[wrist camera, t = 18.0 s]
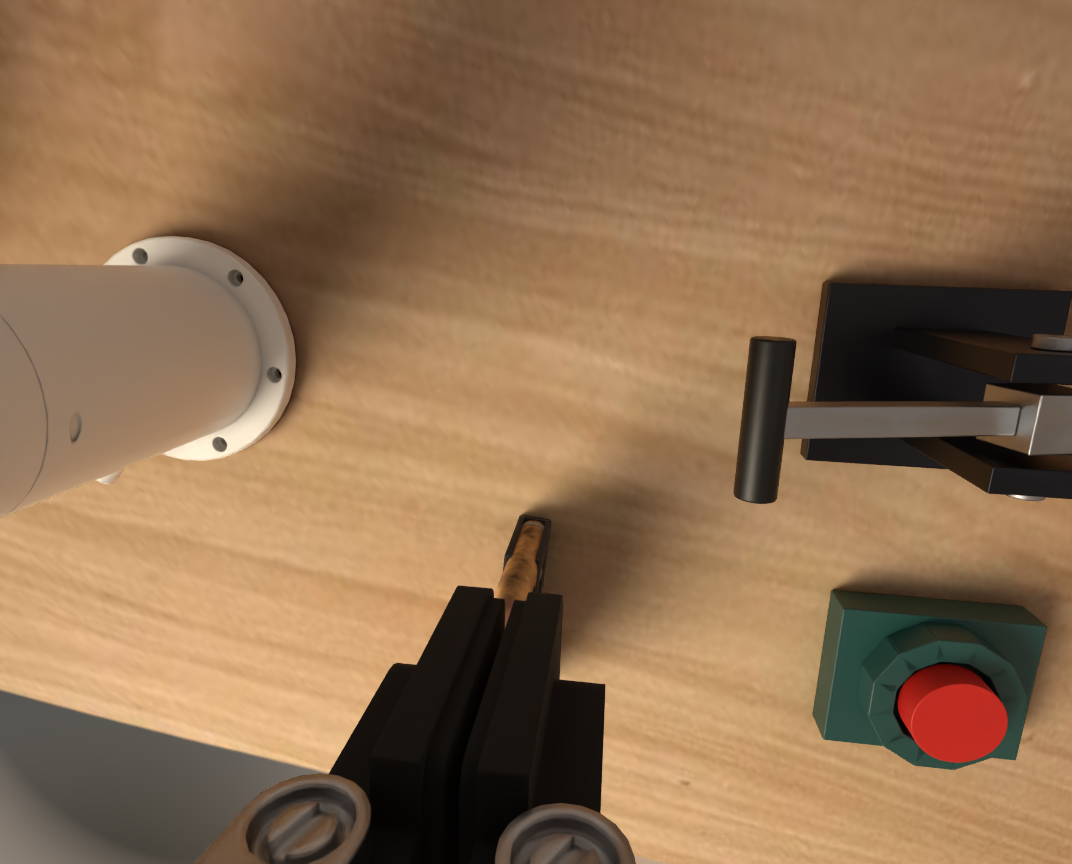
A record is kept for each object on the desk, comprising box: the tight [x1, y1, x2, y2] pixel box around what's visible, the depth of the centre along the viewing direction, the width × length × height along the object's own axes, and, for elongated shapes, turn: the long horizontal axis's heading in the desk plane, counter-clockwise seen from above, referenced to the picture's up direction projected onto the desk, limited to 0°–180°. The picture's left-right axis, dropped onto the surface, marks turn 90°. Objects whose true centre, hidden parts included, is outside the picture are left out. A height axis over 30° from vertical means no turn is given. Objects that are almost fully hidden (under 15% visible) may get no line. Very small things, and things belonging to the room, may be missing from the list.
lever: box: [734, 336, 1072, 504], centre depth 24 cm, size 13×6×2 cm, turn 89°
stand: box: [800, 282, 1072, 501], centre depth 29 cm, size 11×9×12 cm
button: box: [898, 664, 1008, 763], centre depth 34 cm, size 4×4×2 cm
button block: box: [813, 590, 1047, 770], centre depth 36 cm, size 10×8×4 cm
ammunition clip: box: [497, 515, 552, 627], centre depth 34 cm, size 11×2×12 cm, turn 173°
